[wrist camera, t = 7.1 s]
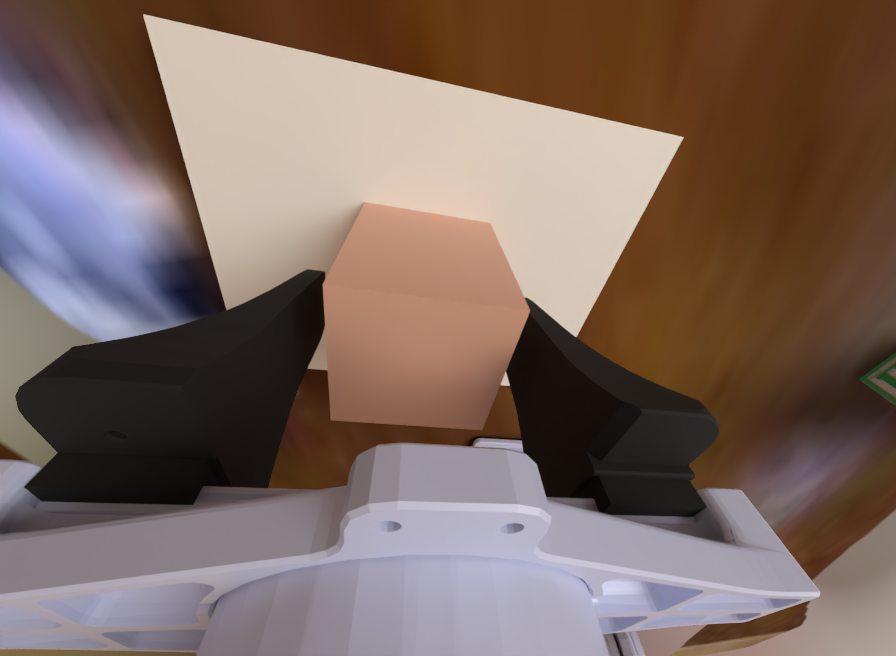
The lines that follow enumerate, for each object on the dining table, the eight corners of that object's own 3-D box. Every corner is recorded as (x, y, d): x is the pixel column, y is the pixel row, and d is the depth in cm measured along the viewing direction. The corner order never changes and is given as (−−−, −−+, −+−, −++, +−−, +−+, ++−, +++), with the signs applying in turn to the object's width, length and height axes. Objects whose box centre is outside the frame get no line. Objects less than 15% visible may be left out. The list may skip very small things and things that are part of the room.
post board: (542, 375, 21) (581, 473, 16) (250, 348, 19) (180, 455, 13) (664, 133, 13) (830, 168, 8) (169, 20, 10) (-108, -47, 5)
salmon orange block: (464, 320, 17) (481, 430, 11) (362, 309, 16) (330, 420, 11) (490, 222, 14) (530, 310, 8) (365, 202, 13) (322, 284, 8)
